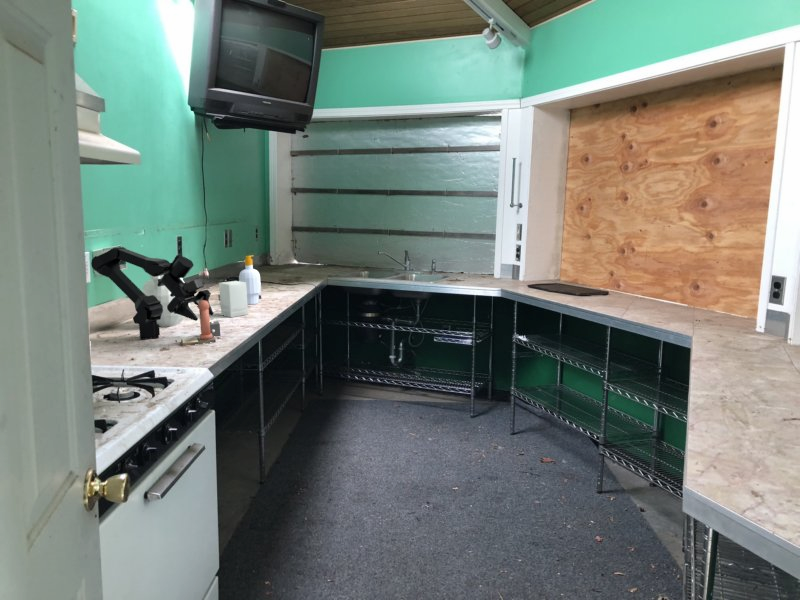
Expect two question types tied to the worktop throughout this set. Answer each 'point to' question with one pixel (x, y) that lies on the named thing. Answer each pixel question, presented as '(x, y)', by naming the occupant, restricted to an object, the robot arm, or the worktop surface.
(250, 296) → the soap bottle
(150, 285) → the pitcher
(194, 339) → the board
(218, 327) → the die
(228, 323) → the worktop surface
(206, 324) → the pawn
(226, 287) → the supplement box
